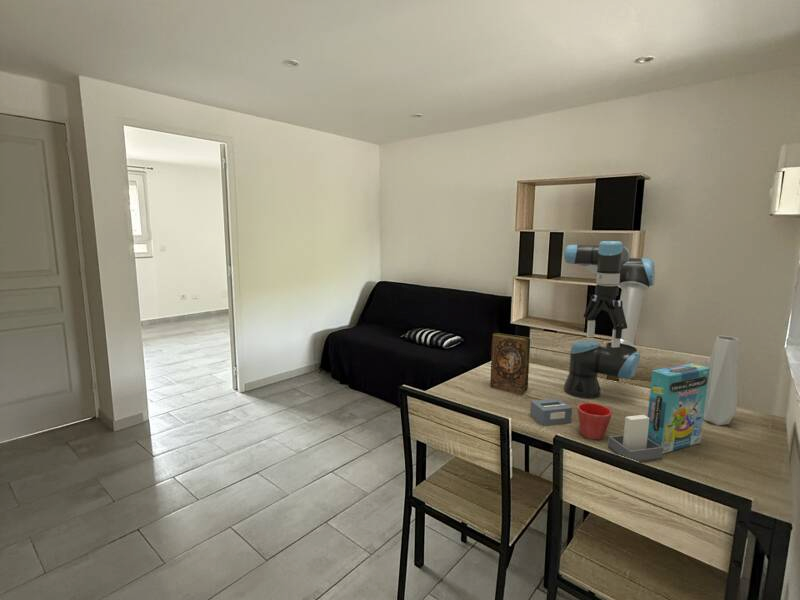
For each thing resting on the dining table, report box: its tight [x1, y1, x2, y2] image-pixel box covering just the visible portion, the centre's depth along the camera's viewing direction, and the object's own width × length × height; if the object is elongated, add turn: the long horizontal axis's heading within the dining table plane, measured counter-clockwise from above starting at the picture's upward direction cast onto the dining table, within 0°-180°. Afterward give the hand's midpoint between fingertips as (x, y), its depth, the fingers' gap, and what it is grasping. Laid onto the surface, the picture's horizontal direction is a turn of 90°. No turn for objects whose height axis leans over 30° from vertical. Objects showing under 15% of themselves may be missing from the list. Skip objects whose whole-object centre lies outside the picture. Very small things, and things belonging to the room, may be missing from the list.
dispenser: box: [529, 398, 573, 426], centre depth 163 cm, size 12×9×6 cm
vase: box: [703, 335, 741, 426], centre depth 160 cm, size 12×12×33 cm
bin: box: [607, 434, 664, 463], centre depth 139 cm, size 12×10×4 cm
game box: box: [647, 362, 710, 455], centre depth 142 cm, size 20×6×27 cm, turn 114°
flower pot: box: [577, 402, 613, 440], centre depth 151 cm, size 11×11×10 cm
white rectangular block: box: [623, 414, 650, 451], centre depth 138 cm, size 7×2×12 cm, turn 102°
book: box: [489, 332, 531, 395], centre depth 191 cm, size 16×6×25 cm, turn 58°
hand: (602, 342), depth 155 cm, fingers open, 13 cm apart
